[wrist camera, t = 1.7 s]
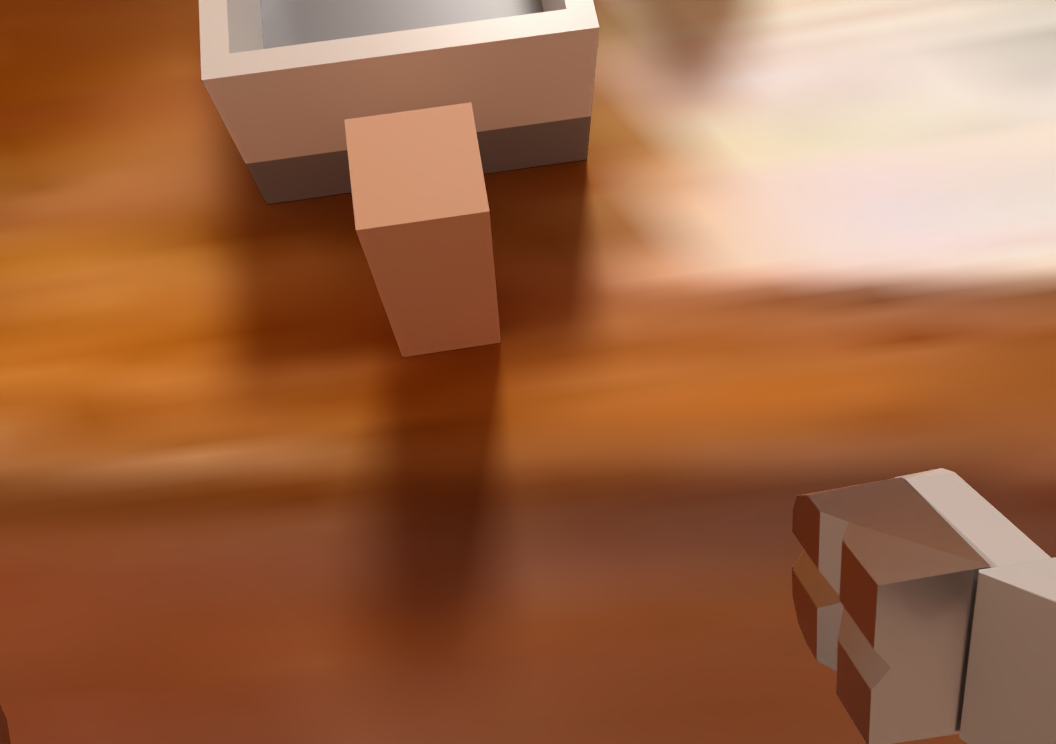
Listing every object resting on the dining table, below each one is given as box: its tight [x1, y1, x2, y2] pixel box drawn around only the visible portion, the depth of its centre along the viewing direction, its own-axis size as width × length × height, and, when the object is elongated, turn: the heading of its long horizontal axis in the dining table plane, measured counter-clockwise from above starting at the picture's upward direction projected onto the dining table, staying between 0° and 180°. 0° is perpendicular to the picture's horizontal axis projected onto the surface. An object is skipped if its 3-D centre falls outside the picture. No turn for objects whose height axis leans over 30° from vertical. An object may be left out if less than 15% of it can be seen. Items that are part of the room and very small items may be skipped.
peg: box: [344, 102, 501, 357], centre depth 32 cm, size 4×4×10 cm
